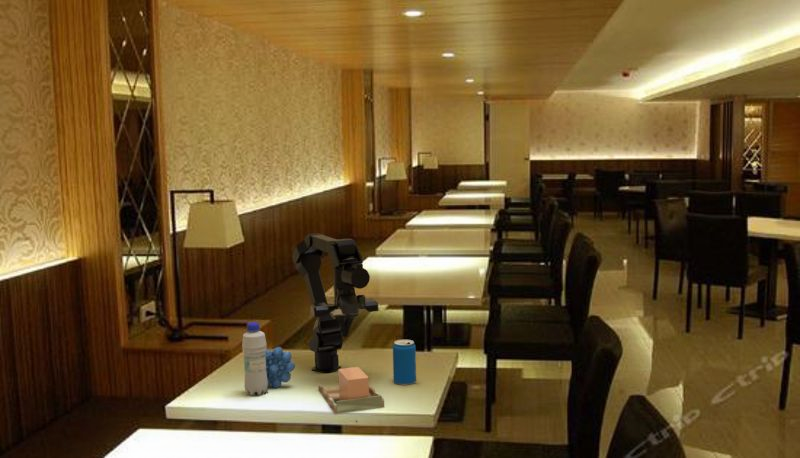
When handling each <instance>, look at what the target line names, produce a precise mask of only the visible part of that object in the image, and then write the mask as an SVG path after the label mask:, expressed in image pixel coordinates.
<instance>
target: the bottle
mask: <svg viewBox="0 0 800 458" xmlns="http://www.w3.org/2000/svg"><path fill="white" fill-rule="evenodd" d="M260 329H261V328H260V323H258V322H256V321H251V322H248V323H247V325H246V330H247V331H246V332H245V333H243V335H242V343H241V348H242V352H243V361H244V362H243V366H244V390H245V392H246V394H247V395H251V396H255V393H257V396H261V395H262V394H265V393H267V389H268V387H267V386H268V380H267V372H266V350H268V349H267V348H268V347H267V345H268V343H267V340H266V334H265V332H263V331H261V330H260Z"/></svg>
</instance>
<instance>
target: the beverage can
mask: <svg viewBox="0 0 800 458" xmlns="http://www.w3.org/2000/svg"><path fill="white" fill-rule="evenodd" d="M416 347H417V346H416V344H415V342H414V340H411V339H398V340H395V341H394V343H393V345H392V365H393V368H392V369H393V370H392V371H393V373H392V374H393V375H392V378H393V382H394V383H395V384H397V385H402V386H408V385H412V384H414V383H416V382H417V354H416V353H417V351H416V350H417V348H416Z"/></svg>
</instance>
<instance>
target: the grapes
mask: <svg viewBox="0 0 800 458" xmlns="http://www.w3.org/2000/svg"><path fill="white" fill-rule="evenodd" d="M292 356H293V354H292V353H291V351H284V349H283V348H282V347H281V346H276V347H275V348H273V349H272V351H271V350H270V349H266V372H267V380H268V386H267V388H269V387H270V386H271V388H273V389H278V388H281V387H282V383H284V384H285V383H288V382H289V381H290V380H291V378H292V374H291V373H292V372H293V371H294V369H296V364H295V362H294V361H291V360H292V359H293V358H292Z"/></svg>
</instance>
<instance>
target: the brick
mask: <svg viewBox="0 0 800 458" xmlns="http://www.w3.org/2000/svg"><path fill="white" fill-rule="evenodd" d="M337 370H338V387H339V398H340V400H341V401H342V400H349V399H357V398H365V397H369V385H370V383H369V382H370V381H369V376H368V375H367V374H366V373H365V372H364V371H363V370H362V369H361V368H360V366H354V367H347V368H346V367H345V368H339V369H337Z"/></svg>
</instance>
